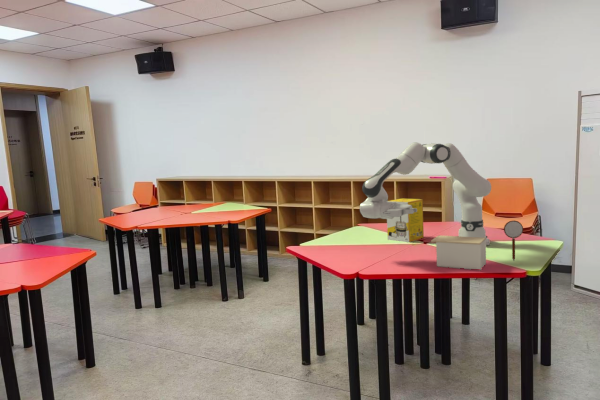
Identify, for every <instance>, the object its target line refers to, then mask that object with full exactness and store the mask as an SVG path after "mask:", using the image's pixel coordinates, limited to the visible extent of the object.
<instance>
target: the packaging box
mask: <svg viewBox="0 0 600 400" xmlns="http://www.w3.org/2000/svg"><path fill="white" fill-rule="evenodd" d="M423 200H424V199H423V198H422V199H420V198H397V199H391V200H388V201H387V202H393V203H398V204H407V205H412V208H416V209H417V212H414V213H413V214H405V215H403V216H400V217H394V218H393V219H386V228H387V229H386V230H387V231H386V232H387V240H388V241H389V240H390V241H396V242H404V243H411V242H414V240H415V241H418V240H421V238H422V239H424V235H425V234H424V208H423V206H424V205H423Z"/></svg>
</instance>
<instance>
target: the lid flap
mask: <svg viewBox="0 0 600 400" xmlns="http://www.w3.org/2000/svg"><path fill="white" fill-rule="evenodd" d="M485 239H486V238H481V237H461V236H459V235H458V236H457V235H436V236H435V237H434V238H432V239H431V240H430V243H431V242H432V243H436V242H443V243H460V244H478V245H480V244H481V243H482V242H483V241H484V240H485Z"/></svg>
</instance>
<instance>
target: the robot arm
mask: <svg viewBox="0 0 600 400" xmlns="http://www.w3.org/2000/svg"><path fill="white" fill-rule="evenodd" d="M420 163H423V164H425V163H426V164H443V166H444V167H445V168H446V170H447V171H448V172H449V174H450V176H451V177H452V178H453V179H454V182H453V183H452V190H453V191H454V193H455V194H456V196H457V198H458V201H459V203H460V208H461V220H460V224H461V225H460V226H461V227H460V228H459V229H458V236H461V237H481V238H486V246H490V245H491V242H490V238H489V237H488V236H486V235H487V234H486V229H485V227H484V219H483V207H482V205H481V203H479V201H478V198H482V197H486V196H489V194H490V193H491V191H492V184H491V183H492V182H490V180H488V179H486V178H484V177H483V176H482V175H480V174H479V172H477V171H476V170H475V169H474V168H473V167H472V166H471V165H470V164H469V163H468V161H467V160H466V158H465V156H464V155H463V154H462V152H461V151H460V150H459V149H458V148H457V147H456V146H455V144H453V143H449V142H448V143H444V144H442V143H436V142H435V143H432V142H431V143H425V144H424V143H423V144H421V143H420V142H412V143H410V144H409V145H408V146H406V148H405V149H403V150H402V152H401V153H400V154H399V155H398V156H397V157H395V158H393V159H391V160H389V161H388V162H386V164H385V165H383V167H381V168H380V169H379V170H378V171H377V172H376V173H375V174H374V175H372V176H371V177H369V178H368V179H366V180H365V181H364V182H363V184H362V186H361V187H362V189H361V191H362V192H363V194H364V195H365V196H366V197H367V198H366V199H365V200H364V201H363V202H361V203H360V205H359V213H360V215H361V216H362V217H363V218H367V219H382V220H387V219H393V218H394V217H400V216H403V215H405V214H413V213H414V212H417V209H416V208H412V205H407V204H398V203H393V202H387V201H389V194H388V193H387V191H386V190H385V188H384V186H383V184H384V182H385V181H386V180H387V179H389V177H391V176H392V175H393V174H394V173H398V174H399V175H404V176H405V175H409V174H411V173H412V172H413V171H414V170H415V169H416V168H417V166H419V164H420Z"/></svg>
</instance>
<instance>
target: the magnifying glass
mask: <svg viewBox="0 0 600 400" xmlns="http://www.w3.org/2000/svg"><path fill="white" fill-rule="evenodd" d="M522 224H523V223H521V222H519V221H517V220H510V221H507V222H506V223H505V224H504V227H503V232H504V234H505V235H506V237H508V238H511V245H512V246H511V250H512V251H511V253H512V254H511V256H512V257H511V258H512V261H513V262H515V260H516V238H519V237H521V235H522V234H523V232H524V226H523V225H522Z"/></svg>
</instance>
